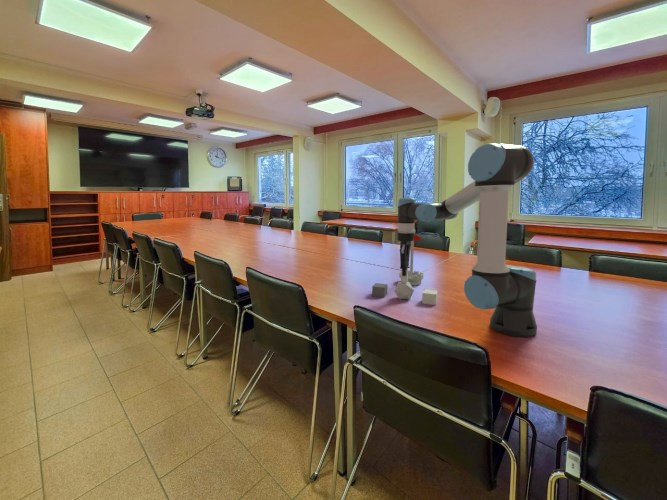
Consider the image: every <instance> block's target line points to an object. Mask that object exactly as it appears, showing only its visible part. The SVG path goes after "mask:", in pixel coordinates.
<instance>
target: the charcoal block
mask: <svg viewBox="0 0 667 500" xmlns="http://www.w3.org/2000/svg"><path fill="white" fill-rule="evenodd" d="M371 287H372V290H371V291H372V292H371V293H372V297H377V298H385V297H386V296H387V295H388V284H387V283H377V282H376V283H374V284H373V285H372V286H371Z"/></svg>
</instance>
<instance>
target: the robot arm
mask: <svg viewBox="0 0 667 500" xmlns="http://www.w3.org/2000/svg"><path fill="white" fill-rule="evenodd" d="M470 155H471V156H470V157H469V159H468V163H467V171H468V175H469V176H470V178H471V179H472V180H473V181H472V182H471V183H469V184H468V185H466V186H464V187H463V188H461V189H460V190H459V191H457V192H456V193H455V192H454V194H452V195H451V196H449V197H448V198H446V199H444V200H443V201H440V202H416V199H415V198H414V197H401V198H399V199H398V203H397V205H398V206H397V224H396V227H397V234H396V235H397V237H396V240H397V241H398V242H400V243H401V244H400V245H399V247H400V248H399V256H400V257H399V261H400V262H399V264H400V267H399V270H401V271H400V272H401V278H400V282H405V283H407V282H408V270H409V269H410V257H411V241H413V240H414V234H415V233H413V232H414V229H415V221H417V222H418V221H419V222H424V223H425V222H431V221H441V220H442V221H443V220H446V221H447V220H452V219H455V218H457V216H458V215H459V213H460V212H462V211H463V210H465V209H467V208H469V207H471V206H472V205H474V204H476V203H477V202H479V203H478V227H477V231H478V234H477V253H476V255H477V256H476V263H475V264H474V265H473V266H472V267H471V276H469V277H467V279H465V281H464V284H463V292H464V295H465V296H466V297H465V298H466V299H467V300H469V303H470V304H471V305H472V306H473V307H475V308H477V309H480V310H493V309H494V310H493V312H492V315H491V317H490V318H489V327H490V328H491V329H492V330H494V331H496V332H498V333H500V334H503V335H507V336H510V337H511V336H512V337H520V338H527V337H529V338H530V337H533V336H535V335H536V334H537V331H538V325H537V322H536V317H535V314H534V304H535V303H534V301H535V294H536V284H537V272H536V270H533V269H531V268H528V267H523V266H517V265H516V266H515V265H508V264H506V255H507V254H506V252H507V237H508V236H507V235H508V234H507V233H508V214H509V195H510V190H512V189H513V188H514V187H515V184H517V183H519V182H520V181H522V180H523V179H525V178H526V177H527V176H529V174H530V173H531V172H532V169H533V168H534V155H533V153H532V152H531V151H530V149H528V148H527V147H526V146H523V145H520V144H508V143H499V142H493V143H485V144H482V145H480V146H478V147H477V148H476V149H475V150H474V152H472V154H470Z"/></svg>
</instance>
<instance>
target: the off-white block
mask: <svg viewBox="0 0 667 500" xmlns="http://www.w3.org/2000/svg"><path fill="white" fill-rule="evenodd" d="M438 294H439V293H438V290H434V289H426V288H425V289H424V290H423V291H422V295H421V296H422V297H421V298H422V299H421V304H424V305H425V304H426V305H433V306H436V305H437V302H438Z"/></svg>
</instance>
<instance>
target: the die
mask: <svg viewBox="0 0 667 500" xmlns="http://www.w3.org/2000/svg"><path fill="white" fill-rule="evenodd" d="M414 292H415V289H414V287H413V285H411V284H410V283H409V282H407V283H405V282H401V281H398V282H397V284H396V287H395V289H394V293H395V294H396V296H397V298H398V300H411V297H412V296H413V294H414Z"/></svg>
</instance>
